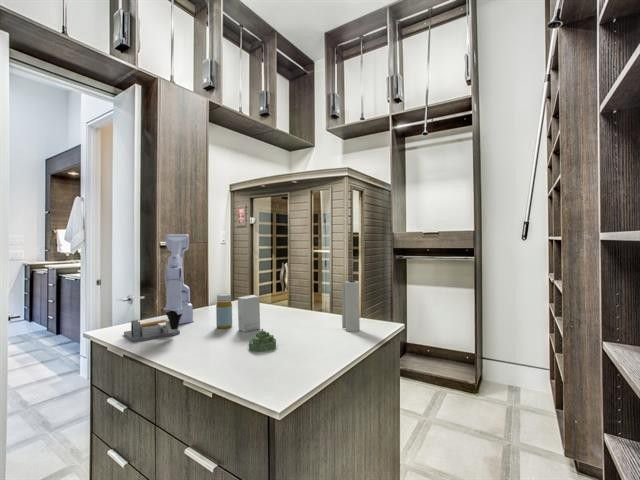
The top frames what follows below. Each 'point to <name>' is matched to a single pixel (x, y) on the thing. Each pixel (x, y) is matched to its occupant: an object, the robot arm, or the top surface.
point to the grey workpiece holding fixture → (147, 332)
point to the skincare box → (248, 313)
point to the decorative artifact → (262, 342)
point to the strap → (151, 323)
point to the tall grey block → (350, 306)
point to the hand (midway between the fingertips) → (174, 329)
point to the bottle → (224, 311)
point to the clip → (169, 326)
